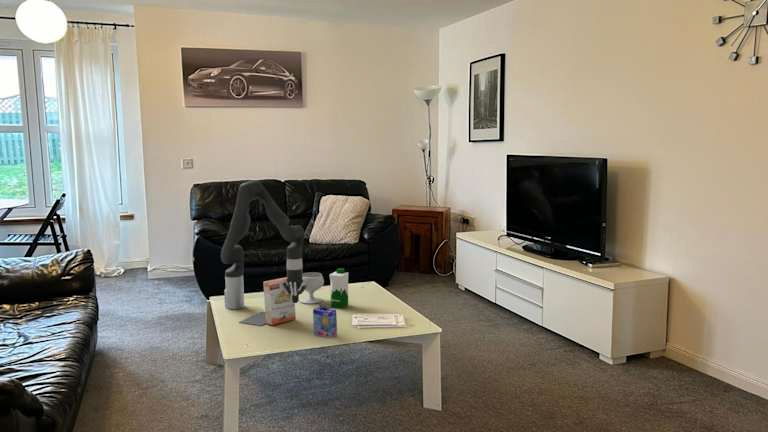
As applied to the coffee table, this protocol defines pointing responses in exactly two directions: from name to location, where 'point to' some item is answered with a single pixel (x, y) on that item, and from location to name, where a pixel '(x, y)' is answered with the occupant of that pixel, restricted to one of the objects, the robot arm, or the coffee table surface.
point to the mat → (255, 319)
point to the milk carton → (339, 289)
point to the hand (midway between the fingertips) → (295, 302)
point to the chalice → (312, 286)
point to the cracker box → (278, 302)
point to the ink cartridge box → (325, 321)
